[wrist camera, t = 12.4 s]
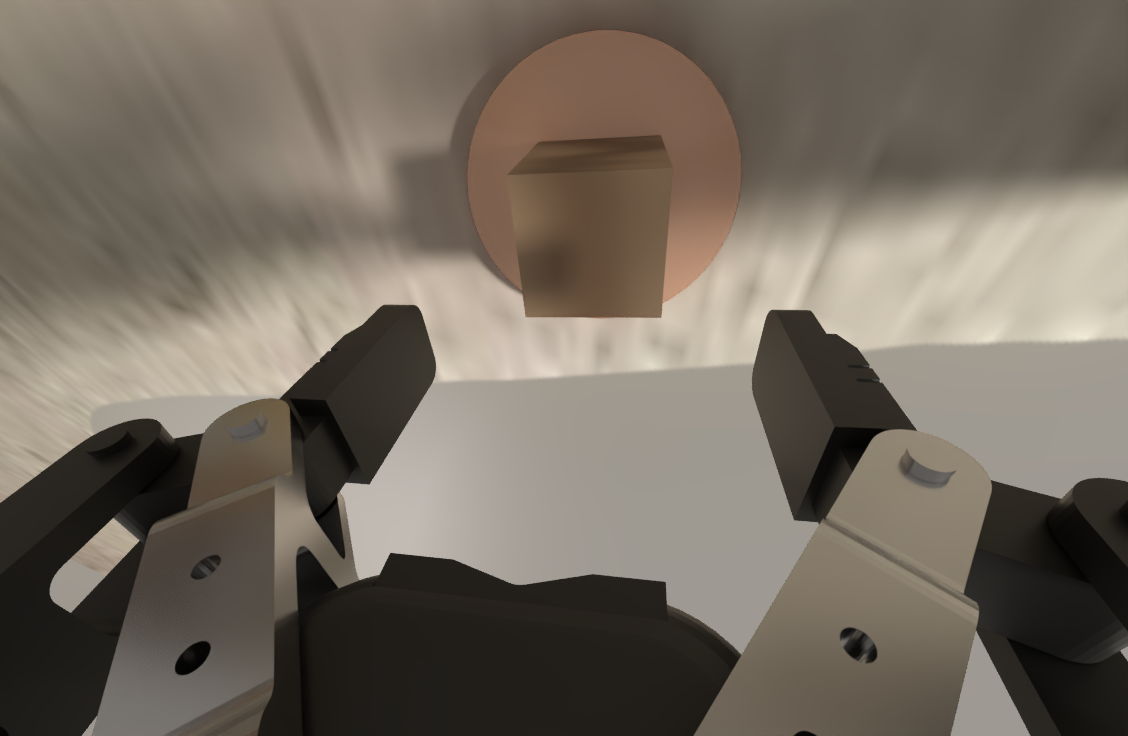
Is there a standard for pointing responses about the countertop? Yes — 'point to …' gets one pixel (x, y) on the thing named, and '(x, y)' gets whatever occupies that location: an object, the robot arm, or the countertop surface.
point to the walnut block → (592, 226)
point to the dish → (607, 110)
